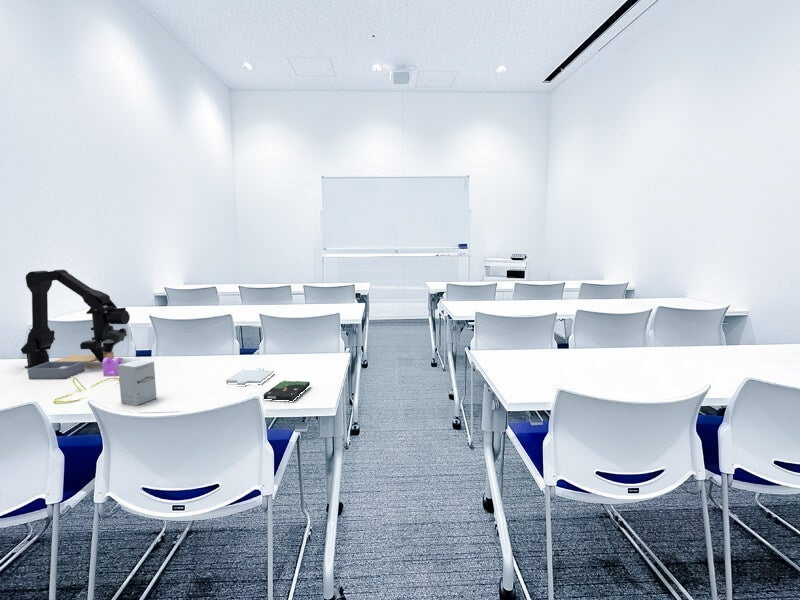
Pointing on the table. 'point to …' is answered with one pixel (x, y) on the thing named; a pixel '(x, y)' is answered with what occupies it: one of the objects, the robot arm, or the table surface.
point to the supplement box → (137, 382)
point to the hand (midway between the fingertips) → (104, 360)
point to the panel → (56, 370)
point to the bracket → (111, 366)
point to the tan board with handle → (85, 358)
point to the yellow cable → (79, 389)
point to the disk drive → (286, 390)
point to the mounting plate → (249, 376)
